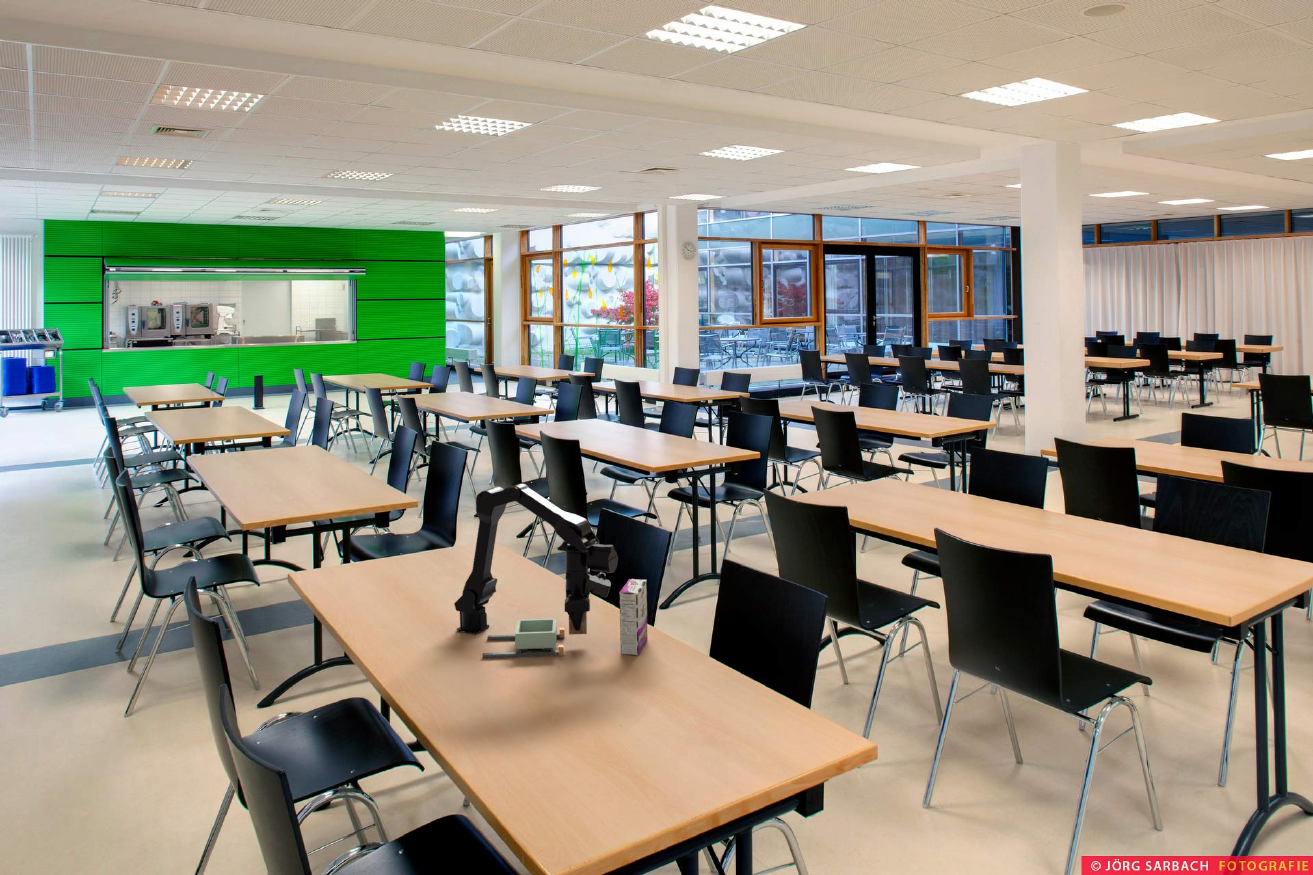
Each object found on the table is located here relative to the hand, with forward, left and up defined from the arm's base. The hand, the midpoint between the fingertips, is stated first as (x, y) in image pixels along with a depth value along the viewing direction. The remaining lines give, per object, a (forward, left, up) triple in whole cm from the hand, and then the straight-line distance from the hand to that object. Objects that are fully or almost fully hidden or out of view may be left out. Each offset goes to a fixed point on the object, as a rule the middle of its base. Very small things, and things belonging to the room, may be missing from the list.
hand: (577, 626), depth 228 cm
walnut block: (0, 0, -1) cm, 1 cm away
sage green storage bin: (-9, -5, -5) cm, 12 cm away
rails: (-12, -7, -5) cm, 14 cm away
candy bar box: (+13, +5, -5) cm, 15 cm away
